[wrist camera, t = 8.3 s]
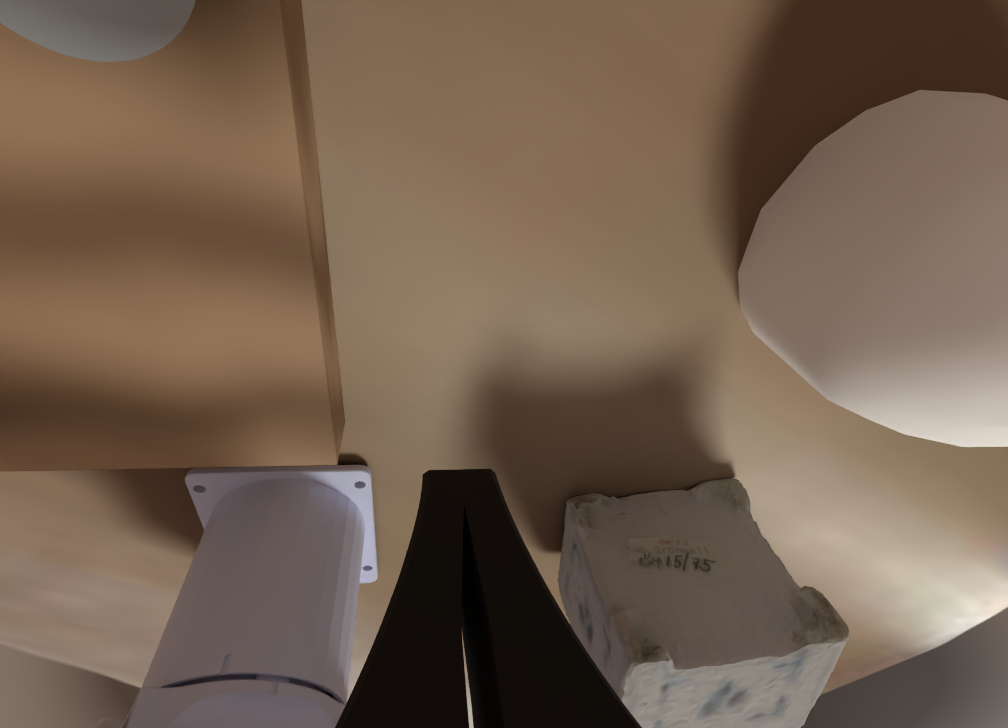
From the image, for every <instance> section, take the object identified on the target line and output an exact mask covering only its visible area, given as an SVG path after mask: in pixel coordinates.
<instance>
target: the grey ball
mask: <svg viewBox="0 0 1008 728" xmlns="http://www.w3.org/2000/svg"><path fill="white" fill-rule="evenodd" d="M194 4H195V0H0V23H1V24H2V25H4V26H6V27H7V28H9V29H10V30H12V31H14V32H15V33H17V34H18V35H20V36H22V37H24V38H26V39H28V40H30V41H32V42H34V43H36V44H38V45H41V46H43V47H45V48H48V49H50V50H53V51H55V52H58V53H61V54H64V55H68V56H71V57H75V58H80V59H86V60H92V61H98V62H119V61H128V60H135V59H138V58H142V57H145V56H148V55H150V54H152V53H154V52H156V51H158V50H160V49H162V48H163V47H165V46H166V45H167V44H169V43H170V42H172V41H173V39H174V38H175V37H176V36H177V35H178V34H179V33H180V32H181V30H182V29H183V27H184V26H185V24H186V23H187V21H188V19H189V17H190V15H191V13H192V10H193V8H194Z"/></svg>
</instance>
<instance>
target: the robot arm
mask: <svg viewBox="0 0 1008 728" xmlns="http://www.w3.org/2000/svg"><path fill="white" fill-rule="evenodd" d="M358 481H362V482H358ZM185 483H186V485H187V488H188V490H189V493H190V496H191V498H192V501H193V503H194V506H195V508H196V511H197V513H198V516H199V518H200V521H201V523H202V526H203V529H204V533H203V535H202V538H201V540H200V543H199V545H198V548H197V550H196V553H195V555H194V558H193V560H192V563H191V565H190V568H189V570H188V573H187V575H186V578H185V580H184V583H183V585H182V588H181V590H180V593H179V595H178V598H177V600H176V603H175V605H174V608H173V610H172V613H171V615H170V618H169V620H168V623H167V625H166V628H165V630H164V633H163V635H162V638H161V640H160V643H159V645H158V648H157V651H156V653H155V656H154V658H153V661H152V663H151V666H150V668H149V671H148V673H147V676H146V678H145V681H144V683H143V686H142V688H141V691H140V693H139V695H138V697H137V698H136V700H135V702H134V705H133V706H132V708H131V710H130V712H129V714H128V716H127V718H126V720H125V722H124V724H123V726H122V728H469V721H468V709H467V697H466V684H465V671H464V658H463V646H462V633H463V641H464V649H465V656H466V664H467V672H468V680H469V687H470V695H471V703H472V714H473V725H474V728H642V727H641V726H640V724H639V723H638V722H637V720H636V719H635V718H634V717H633V715H632V714H631V713H630V712H629V710H628V709H627V708H626V706H625V705H624V704H623V702H622V701H621V699H620V698H619V697H618V695H617V694H616V692H615V691H614V690H613V688H612V687H611V685H610V684H609V683H608V681H607V680H606V678H605V677H604V676H603V674H602V673H601V671H600V670H599V668H598V667H597V665H596V664H595V662H594V661H593V660H592V658H591V657H590V655H589V654H588V652H587V651H586V649H585V648H584V646H583V645H582V643H581V642H580V640H579V638H578V637H577V635H576V634H575V632H574V631H573V629H572V627H571V626H570V624H569V623H568V621H567V619H566V618H565V616H564V614H563V613H562V611H561V609H560V608H559V606H558V604H557V602H556V601H555V599H554V597H553V596H552V594H551V592H550V591H549V589H548V587H547V585H546V583H545V582H544V580H543V578H542V576H541V574H540V572H539V571H538V569H537V567H536V565H535V563H534V561H533V559H532V557H531V555H530V553H529V551H528V549H527V547H526V546H525V544H524V541H523V539H522V537H521V535H520V533H519V531H518V529H517V527H516V525H515V522H514V520H513V518H512V516H511V514H510V511H509V509H508V506H507V504H506V502H505V499H504V497H503V494H502V491H501V489H500V486H499V483H498V480H497V477H496V474H495V472H494V471H492V470H491V469H464V470H429V471H427V472H426V473H424V474H423V481H422V491H421V498H420V504H419V509H418V513H417V518H416V522H415V526H414V530H413V533H412V537H411V540H410V544H409V547H408V550H407V553H406V557H405V560H404V563H403V566H402V569H401V573H400V575H399V578H398V581H397V584H396V587H395V589H394V592H393V595H392V597H391V600H390V603H389V605H388V608H387V611H386V613H385V616H384V619H383V621H382V624H381V626H380V629H379V631H378V634H377V636H376V639H375V641H374V643H373V646H372V648H371V650H370V653H369V655H368V657H367V660H366V662H365V664H364V667H363V669H362V671H361V673H360V675H359V678H358V680H357V682H356V684H355V687H354V689H353V691H352V693H351V695H350V697H349V699H348V701H347V695H348V686H349V677H350V667H351V658H352V649H353V639H354V630H355V621H356V611H357V602H358V593H359V583H370V582H374V581H375V580H376V579H377V577H378V567H377V552H376V538H375V523H374V508H373V494H372V479H371V471H370V469H369V468H368V467H367V466H364V465H326V466H275V467H224V468H194V469H191V470H189V471H188V473H187V474H186V476H185ZM120 723H121V719H108V718H106V719H102V720H101V721H99V722H98V723H97V725H96V727H95V728H119V726H120Z"/></svg>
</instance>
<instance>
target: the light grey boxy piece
mask: <svg viewBox="0 0 1008 728" xmlns="http://www.w3.org/2000/svg"><path fill="white" fill-rule="evenodd" d="M566 505H567V508H566V512H565V519H564V520H565V531H564V536H563V546H562V551H561V559H560V567H559V578H558V583H559V590H560V594H561V598H562V602H563V604H564V608H565V611H566V615H567V616H568V618H569V620H570V626H571V627H572V629H573V631H574V632H575V634H576V635H577V637H578V638H579V640H580V642H581V643H582V645H583V646H584V648H585V649H586V651H587V652H588V654H589V655H590V657H591V658H592V660H593V661H594V662H595V664H596V665H597V667H598V668H599V670H600V671H601V673H602V674H603V676H604V677H605V678H606V680H607V681H608V683H609V684H610V685H611V687H612V688H613V690H614V691H615V692H616V694H617V695H618V697H619V698H620V699H621V701H622V702H623V704H624V705H625V706H626V708H627V709H628V710H629V712H630V713H631V714H632V715H633V717H634V718H635V719H636V720H637V722H638V723H639V724H640V726H641V727H642V728H800V727H801V726H802V725H804V723H805V720H806V718H807V716H808V713H809V712H810V710H811V708H812V707H813V706H814V705H815V702H816V700H817V698H818V697H819V696H820V694H821V693H822V691H823V689H824V687H825V685H826V682H827V680H828V678H829V676H830V673H831V672H832V671H833V670H834V668H835V664H836V662H837V660H838V658H839V656H840V654H841V652H842V650H843V647H844V645H845V644H846V642H847V641H848V639H849V637H850V635H849V629H848V626H847V624H846V623H845V622H844V620H843V619H842V618H841V616H840V615H839V614H838V612H837V611H836V610H835V609H834V607H833V606H832V605H831V604H830V602H829V601H828V600H827V599H826V598H825V597H824V595H823V594H822V593H820V592H819V591H817V590H816V589H815V588H813V587H808V586H804V587H802V588H800V587H799V586H798V585H797V584H796V583H795V582H794V580H793V579H792V576H791V575H790V574H789V573H788V571H787V570H786V568H785V566H784V564H783V563H782V561H781V560H780V558H779V557H778V556H777V555H776V554H775V553H774V552H773V550H772V549H771V547H770V545H769V543H768V542H767V540H766V539H765V538H764V537H763V536H762V535H761V532H760V530H759V528H758V525H757V523H756V522H755V521H753V518H752V515H751V512H750V500H749V497H748V494H747V491H746V489H745V488H743V486H742V484H741V483H740V482H739V480H737V479H720V480H712V481H705V482H702V483H700V484H698V485H697V486H695V487H694V488H692V489H690V490H688V491H685V490H672V491H659V492H651V493H644V494H637V495H631V496H628V497H621V498H616V497H614V496H612V497H607V496H604V495H602V494H600V493H597V494H595V493H591V494H586V495H581V496H576V497H573V498H570V499H569V500H567V501H566Z"/></svg>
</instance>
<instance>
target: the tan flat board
mask: <svg viewBox="0 0 1008 728" xmlns="http://www.w3.org/2000/svg"><path fill="white" fill-rule="evenodd" d="M344 424H345V418H344V408H343V399H342V389H341V379H340V370H339V360H338V351H337V341H336V331H335V322H334V312H333V302H332V293H331V283H330V274H329V264H328V254H327V245H326V235H325V226H324V216H323V206H322V197H321V187H320V178H319V168H318V158H317V149H316V139H315V129H314V120H313V110H312V101H311V91H310V81H309V72H308V62H307V53H306V43H305V33H304V24H303V14H302V5H301V0H195V4H194V8H193V10H192V13H191V15H190V17H189V19H188V21H187V23H186V24H185V26H184V27H183V29H182V30H181V32H180V33H179V34H178V35H177V36H176V37H175V38H174V39H173V41H172V42H170V43H169V44H167V45H166V46H165V47H163V48H162V49H160V50H158V51H156V52H154V53H152V54H150V55H148V56H145V57H142V58H138V59H135V60H128V61H119V62H98V61H92V60H86V59H80V58H75V57H71V56H68V55H64V54H61V53H58V52H55V51H53V50H50V49H48V48H45V47H43V46H41V45H38V44H36V43H34V42H32V41H30V40H28V39H26V38H24V37H22V36H20V35H18V34H17V33H15V32H14V31H12V30H10V29H9V28H7V27H6V26H4V25H2V24H1V23H0V472H1V471H53V470H104V469H155V468H206V467H257V466H308V465H337V464H338V458H339V452H340V447H341V441H342V436H343V430H344Z"/></svg>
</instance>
